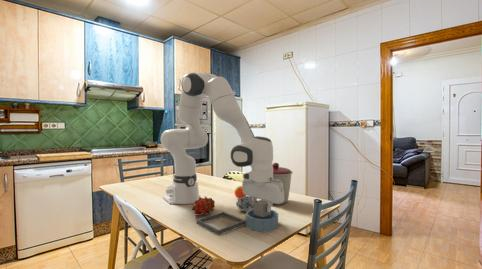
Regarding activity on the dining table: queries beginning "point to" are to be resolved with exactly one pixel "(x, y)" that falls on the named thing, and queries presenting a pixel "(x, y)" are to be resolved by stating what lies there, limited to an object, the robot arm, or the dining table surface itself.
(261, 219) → the bowl
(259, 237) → the dining table surface
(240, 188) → the clementine
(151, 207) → the dining table surface
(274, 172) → the canister
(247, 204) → the mineral specimen
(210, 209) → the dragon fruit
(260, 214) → the pebble block
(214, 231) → the tray
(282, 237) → the dining table surface
